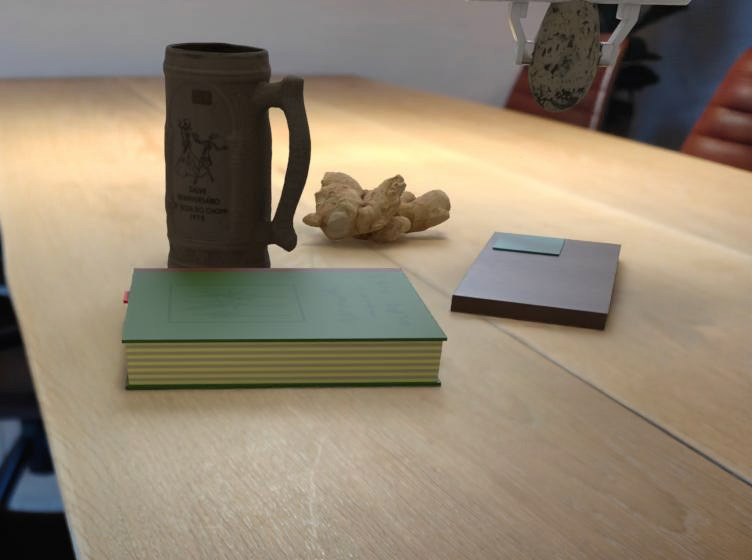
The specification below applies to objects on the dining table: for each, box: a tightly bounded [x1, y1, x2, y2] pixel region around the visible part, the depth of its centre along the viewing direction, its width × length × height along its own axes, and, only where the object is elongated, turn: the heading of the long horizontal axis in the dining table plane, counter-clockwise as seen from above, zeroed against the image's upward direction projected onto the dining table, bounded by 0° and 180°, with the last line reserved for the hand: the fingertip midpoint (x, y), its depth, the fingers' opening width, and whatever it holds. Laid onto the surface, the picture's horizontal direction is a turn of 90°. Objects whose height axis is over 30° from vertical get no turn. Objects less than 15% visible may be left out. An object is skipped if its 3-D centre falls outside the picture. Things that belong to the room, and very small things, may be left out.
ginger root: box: [301, 171, 452, 244], centre depth 105 cm, size 16×16×8 cm
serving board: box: [449, 231, 622, 331], centre depth 93 cm, size 26×14×2 cm, turn 160°
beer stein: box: [162, 41, 312, 268], centre depth 88 cm, size 15×11×20 cm
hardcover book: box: [121, 267, 448, 390], centre depth 76 cm, size 25×19×4 cm
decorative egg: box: [528, 0, 601, 113], centre depth 81 cm, size 6×6×10 cm
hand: (562, 65), depth 82 cm, fingers closed on decorative egg, 6 cm apart
